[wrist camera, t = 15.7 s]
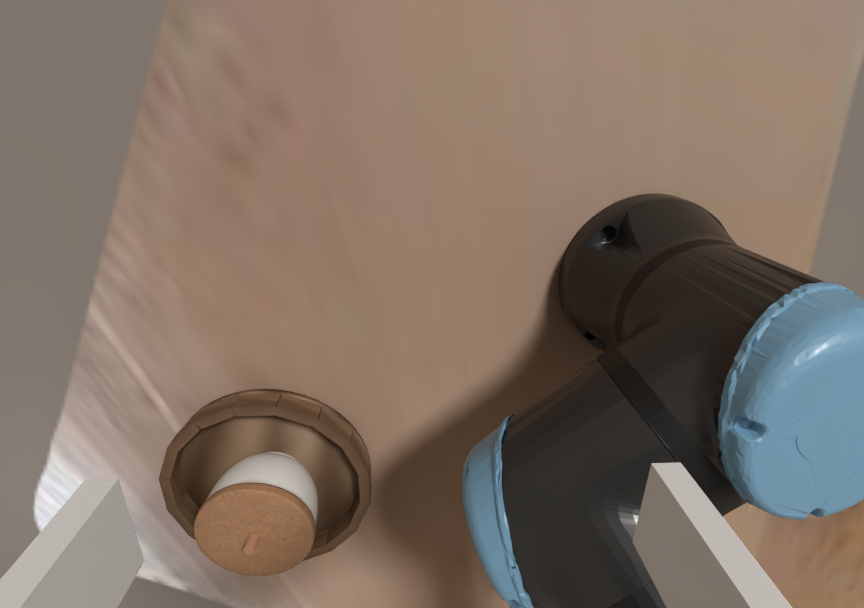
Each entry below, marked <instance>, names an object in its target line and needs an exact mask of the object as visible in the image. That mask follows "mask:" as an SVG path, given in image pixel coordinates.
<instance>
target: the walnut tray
mask: <svg viewBox="0 0 864 608" xmlns="http://www.w3.org/2000/svg"><path fill="white" fill-rule="evenodd" d="M265 452H282V453H285V454H288V455H290V456H292V457H294V458H295V459H296V460H297V461H298V462H299V463H300V464H302V465H303V466H304V467H305V468H306V469H307V470H308V472H309V474H310V475H311V477H312V478H313V481H314V483H315V486H316V489H317V495H318V516H317V523H316V533H315V538H314V543H313V546H312V548H311V550H310V552H309V554H308V555H307V556H306V558H305V559H303V560H302V561H304V560H307V559H310V558H312V557H315V556H318V555H321V554H324V553H327V552H330V551H332V550H333V549H335V548H336V547H337V546H338V545H339V544H341V543H342V542H343V541H344V540H346V539H347V538H348V537H349V536H351V535H352V534H353V533H354V532H356V530H357V529H358V527H359V525H360V523H361V521H362V519H363V517H364V515H365V513H366V511H367V508H368V506H369V504H370V496H371V464H370V457H369V454H368V451H367V448H366V446H365V444H364V442H363V439H362V438H361V436H360V435H359V433H358V432H357V430H356V429H355V428H354V427H353V426H352V425H351V424H350V422H349V421H348V420H347V419H345V418H344V417H343V416H342V415H341V414H340V413H338V412H337V411H335V410H334V409H332V408H331V407H329V406H328V405H326V404H324V403H322V402H320V401H318V400H316V399H313V398H310V397H308V396H305V395H302V394H298V393H294V392H290V391H283V390H274V389H257V390H247V391H242V392H236V393H233V394H230V395H227V396H223V397H221V398H219V399H217V400H215V401H213V402H211V403H209V404H208V405H206V406H205V407H203V408H201V409H200V410H199V411H198V412H197V413H196V414H195V415H193V416H192V418H191V419H190V420H189V421H188V422H187V424H186V425H185V426H184V427H183V428H182V429H181V430H180V431H179V432H178V433H177V435H176V436H175V437H174V439H173V440H172V442H171V443H170V445H169V446H168V448H167V451H166V454H165V458H164V462H163V466H162V469H161V473H160V477H159V481H160V485H161V488H162V492H163V496H164V499H165V503H166V507H167V510H168V511H169V512H170V514H171V515H172V516H173V517H174V518H175V519H176V521H177V522H178V523H179V524H180V525H181V526H182V528H183V529H184V530H185V531H186V532H187V534H188V535H189V536H191V537H192V538H194V539H195V540H196V538H195V535H194V522H195V519H196V516H197V514H198V512H199V510H200V508H201V507H202V505H203V503H204V502H205V501H206V499H207V497H208V495H209V494H210V492H211V490H212V489H213V487H214V486H215V484H216V483H217V481H218V480H219V479H220V478H221V477H222V475H223V474H224V473H225V472H226V471H227V470H228V469H229V468H230V467H232V466H233V465H234V464H236V463H237V462H239V461H240V460H242V459H244V458H246V457H249V456H252V455H255V454H260V453H265Z"/></svg>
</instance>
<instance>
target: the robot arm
mask: <svg viewBox="0 0 864 608" xmlns="http://www.w3.org/2000/svg"><path fill="white" fill-rule="evenodd" d="M559 295H560V300H561V304H562V307H563V310H564V312H565V314H566V316H567V318H568V319H569V321H570V322H571V324H572V325H573V326H574V328H575V329H576V330H577V331H578V333H579V334H580V335H581V336H582V337H583V338H584V339H585V340H586V341H587V342H589V343H590V344H591V345H593V346H594V347H596V348H597V349H599V350H601V351H603V352H604V353H603V354H602V355H600V356H599V357H596V358H595V359H594V360H592V361H591V362H590V363H588V364H587V365H585V366H584V367H583V368H581V369H580V370H579V371H577V372H576V373H574V374H573V375H572V376H570V377H569V378H567V379H566V380H565V381H563V382H562V383H560V384H559V385H557V386H556V387H555V388H553V389H552V390H550V391H549V392H547V393H546V394H545V395H543V396H542V397H540V398H539V399H537V400H536V401H534V402H533V403H532V404H530V405H529V406H527V407H526V408H524V409H523V410H521V411H520V412H519V413H517V414H516V415H509V416H508V417H506V418H505V419H504V420H503V421H502V422H501V425H500V426H499V427H498V428H496V429H495V430H494V431H493V432H491V433H490V434H489V435H488V436H486V437H485V438H484V439H483V440H481V441H480V442H479V443H477V444H476V445H475V446H474V447H473V448H472V449H471V451H470V452H469V454H468V456H467V458H466V460H465V463H464V467H463V474H462V481H463V485H462V499H463V506H464V511H465V516H466V520H467V524H468V528H469V531H470V535H471V538H472V541H473V544H474V546H475V549H476V551H477V554H478V557H479V559H480V561H481V563H482V566H483V568H484V570H485V572H486V574H487V576H488V578H489V580H490V582H491V583H492V585H493V587H494V588H495V590H496V591H497V593H498V594H499V596H500V597H501V598H502V599H503V600H506V601H508V604H509V607H510V608H792V607H791V605H790V604H789V603H788V601H787V600H786V599H785V598H784V596H783V595H782V594H781V592H780V591H779V590H778V588H777V587H776V586H775V585H774V583H773V582H772V581H771V579H770V578H769V577H768V575H767V574H766V573H765V572H764V570H763V569H762V568H761V566H760V565H759V564H758V562H757V561H756V560H755V558H754V557H753V556H752V555H751V553H750V552H749V551H748V549H747V548H746V547H745V545H744V544H743V543H742V542H741V540H740V539H739V538H738V536H737V535H736V534H735V532H734V531H733V530H732V529H731V527H730V526H729V525H728V523H727V522H726V521H725V519H724V518H723V517H722V516H724V515H725V514H727V513H729V512H730V511H732V510H734V509H736V508H737V507H739V506H741V505H743V504H745V503H747V502H748V503H749V504H751V505H754V506H756V507H758V508H759V509H762V510H763V511H766V512H768V513H770V514H772V515H774V516H778V517H781V518H789V519H805V518H806V517H807V516H808V515H809V514H810V513H811V514H812V515H814V516H816V517H819V516H820V517H822V516H828V515H831V514H834V513H836V512H839V511H841V510H844V509H846V508H848V507H851V506H853V505H855V504H856V503H858V502H860V501H862V500H863V499H864V300H863V299H861V298H859V297H858V296H857V295H856V294H855V293H854V292H853V291H851V290H848V289H847V288H846V287H843V286H840V285H838V284H834V283H826V282H824V281H821V280H819V279H817V278H814V277H812V276H809V275H807V274H805V273H802V272H800V271H797V270H795V269H792V268H790V267H788V266H785V265H783V264H780V263H778V262H776V261H773V260H771V259H768V258H766V257H763V256H761V255H759V254H756V253H754V252H751V251H749V250H747V249H744V248H741V247H739V246H737V244H736V243H735V242H734V241H733V239H732V238H731V237H730V236H729V234H728V233H727V231H726V230H725V228H724V227H723V225H722V224H721V222H720V221H719V220H718V219H717V218H716V217H715V216H714V215H713V214H711V213H710V212H709V211H707V210H706V209H704V208H703V207H701V206H699V205H697V204H695V203H693V202H690V201H687V200H684V199H681V198H678V197H675V196H671V195H666V194H643V195H637V196H633V197H629V198H626V199H623V200H621V201H618V202H616V203H614V204H612V205H610V206H608V207H607V208H605V209H604V210H602V211H601V212H599V213H598V214H596V215H595V216H594V217H593V218H592V219H590V220H589V221H588V222H587V223H586V224H585V225H584V226H583V227H582V229H581V230H580V231H579V232H578V233H577V235H576V236H575V238H574V239H573V241H572V242H571V244H570V246H569V247H568V249H567V252H566V254H565V256H564V259H563V262H562V265H561V269H560V275H559ZM720 513H721V514H720ZM143 562H144V558H143V555H142V552H141V549H140V546H139V542H138V539H137V536H136V533H135V530H134V527H133V524H132V520H131V517H130V514H129V511H128V508H127V505H126V502H125V498H124V495H123V492H122V489H121V486H120V483H119V480H118V479H99V480H85V481H84V482H83V483H82V484H81V485H80V487H79V488H78V489H77V490H76V491H75V492H74V494H73V495H72V496H71V497H70V498H69V500H68V501H67V502H66V503H65V504H64V505H63V507H62V508H61V509H60V510H59V511H58V512H57V514H56V515H55V516H54V517H53V518H52V520H51V521H50V522H49V523H48V524H47V525H46V527H45V528H44V529H43V530H42V531H41V532H40V534H39V535H38V536H37V537H36V538H35V540H34V541H33V542H32V543H31V544H30V545H29V547H28V548H27V549H26V550H25V551H24V553H23V554H22V555H21V556H20V557H19V558H18V560H17V561H16V562H15V563H14V564H13V565H12V567H11V568H10V569H9V570H8V571H7V573H6V574H5V575H4V576H3V577H2V578H1V580H0V608H118V606H119V604H120V602H121V600H122V599H123V597H124V595H125V594H126V592H127V590H128V588H129V586H130V585H131V583H132V581H133V579H134V578H135V576H136V574H137V572H138V571H139V569H140V567H141V565H142V564H143Z"/></svg>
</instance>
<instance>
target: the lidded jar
mask: <svg viewBox="0 0 864 608" xmlns="http://www.w3.org/2000/svg"><path fill="white" fill-rule="evenodd" d="M317 516H318V495H317V489H316V486H315V483H314V481H313V478H312V477H311V475H310V474H309V472H308V470H307V469H306V468H305V467H304V466H303V465H302V464H300V463H299V462H298V461H297V460H296V459H295V458H294V457H292V456H290V455H288V454H285V453H282V452H265V453H260V454H255V455H252V456H249V457H246V458H244V459H242V460H240V461H239V462H237V463H236V464H234V465H233V466H232V467H230V468H229V469H228V470H227V471H226V472H225V473H224V474H223V475H222V477H221V478H220V479H219V480H218V481H217V483H216V484H215V486H214V487H213V489H212V490H211V492H210V494H209V495H208V497H207V499H206V501H205V502H204V503H203V505H202V507H201V508H200V510H199V512H198V514H197V516H196V519H195V522H194V535H195V538H196V541H197V544H198V545H199V547H200V549H201V550H202V552H203V553H204V554H205V555H206V556H207V557H208V558H209V559H210V560H211V561H213V562H214V563H216V564H217V565H219V566H221V567H223V568H225V569H227V570H230V571H233V572H236V573H240V574H244V575H253V576H264V575H272V574H278V573H281V572H284V571H286V570H289V569H291V568H293V567H294V566H296V565H297V564H299V563H300V562H301V561H302V560H303V559H305V558H306V556H307V555H308V554H309V552H310V550H311V548H312V546H313V543H314V538H315V533H316V523H317Z"/></svg>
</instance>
